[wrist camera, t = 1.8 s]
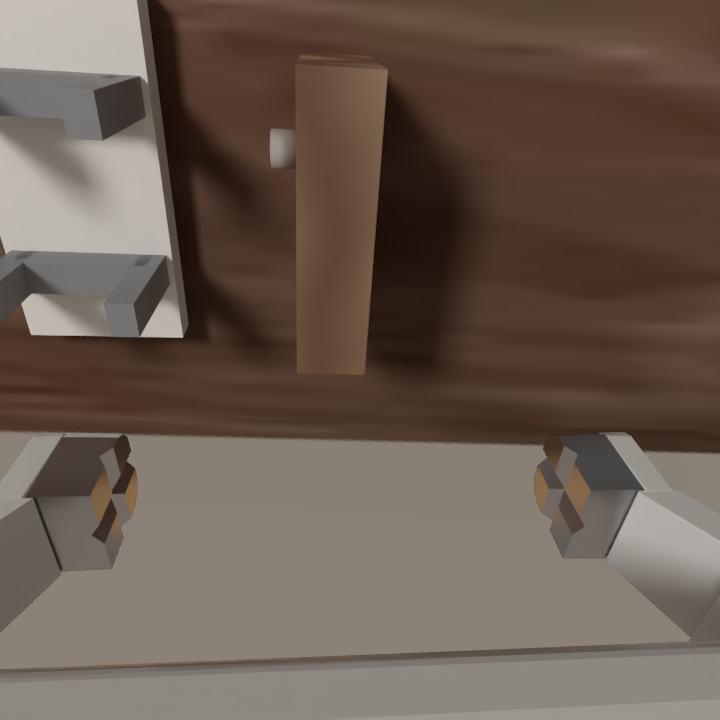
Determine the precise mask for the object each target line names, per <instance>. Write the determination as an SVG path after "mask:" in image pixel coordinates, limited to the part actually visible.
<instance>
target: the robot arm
mask: <svg viewBox="0 0 720 720" xmlns="http://www.w3.org/2000/svg"><path fill="white" fill-rule="evenodd" d="M543 450H544V452H545V454H546V456H547V458H546V459H545V460H544V461H543V462H541V463H540V464H539V465H538V466H537V470H536V474H535V477H534V488H535V489H534V491H535V495H536V500H537V503H538V505H539V507H540V510H541V512H542V513H543V514H545V515H546V516H548V517H549V518H550V519H551V520H553V523H552V525H551V528H550V531H551V533H552V536H553V538H554V540H555V542H556V544H557V546H558V548H559V550H560V553H561V555H562V557H563V558H607V559H606V561H607V562H608V563H609V564H610V565H611V566H612V567H613V568H614V569H615V570H617V571H618V572H619V573H620V574H621V575H622V576H623V577H625V579H627V580H628V581H629V582H630V583H631V584H632V585H633V586H634V587H635V588H637V589H638V590H639V591H640V592H641V593H642V594H643V595H644V596H645V597H647V598H648V599H649V600H650V601H651V602H652V603H653V604H654V605H655V606H656V607H658V608H659V609H660V610H661V611H662V612H663V613H664V614H665V615H666V616H668V617H669V618H670V619H671V620H672V621H673V622H674V623H675V624H676V625H678V626H679V627H680V628H681V629H682V630H683V631H684V632H685V633H686V634H687V635H689V636H690V637H691V639H690V641H689V642H670V643H647V644H646V643H645V644H619V645H594V646H570V647H547V648H524V649H501V650H478V651H477V650H475V651H454V652H453V651H451V652H427V653H401V654H376V655H352V656H351V655H350V656H324V657H298V658H275V659H274V658H273V659H247V660H223V661H199V662H174V663H149V664H124V665H98V666H76V667H75V666H73V667H49V668H24V669H0V720H720V513H718V512H716V511H715V510H713V509H711V508H710V507H708V506H706V505H704V504H703V503H701V502H699V501H698V500H696V499H694V498H692V497H691V496H689V495H687V494H686V493H684V492H682V491H673V490H672V489H671V488H670V486H669V485H668V484H667V483H666V481H665V480H664V478H663V477H662V476H661V475H660V473H659V472H658V471H657V469H656V468H655V467H654V466H653V464H652V463H651V462H650V460H649V459H648V458H647V457H646V455H645V454H644V453H643V451H642V450H641V449H640V447H639V446H638V445H637V444H636V442H635V441H634V440H633V438H632V437H631V436H630V435H628V434H626V433H625V432H610V433H599V434H598V433H570V434H550V435H549V437H548V438H547V439H546V442H545V445H544V448H543ZM130 452H131V449H130V445H129V441H128V438H127V436H125V435H123V434H95V433H67V434H65V433H38V434H37V435H35V436H33V437H32V438H31V439H30V440H29V442H28V443H27V445H26V446H25V448H24V449H23V451H22V452H21V454H20V455H19V456H18V458H17V459H16V461H15V462H14V464H13V465H12V467H11V468H10V469H9V471H8V472H7V474H6V475H5V477H4V478H3V480H2V481H1V483H0V632H1V631H2V630H4V629H5V628H6V626H8V625H9V624H10V623H11V622H12V621H13V620H14V619H15V618H16V617H17V616H18V615H19V614H20V613H21V612H22V611H23V610H25V608H27V607H28V606H29V605H30V604H31V603H32V602H33V601H34V600H35V599H36V598H37V597H38V596H39V595H40V594H41V593H42V592H43V591H45V590H46V589H47V588H48V587H49V586H50V585H51V584H52V583H53V582H54V581H55V580H56V579H57V578H58V577H59V576H60V575H61V572H65V571H83V570H104V569H112V567H113V565H114V562H115V559H116V557H117V554H118V551H119V549H120V546H121V544H122V541H123V534H122V530H121V526H122V525H123V524H124V523H126V522H127V521H128V520H129V519H131V517H132V514H133V511H134V508H135V504H136V498H137V491H138V489H137V476H136V471H135V468H134V467H133V466H131V465H130V464H129V463H128V462H127V459H128V457H129V454H130Z"/></svg>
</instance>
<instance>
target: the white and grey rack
mask: <svg viewBox="0 0 720 720" xmlns="http://www.w3.org/2000/svg"><path fill="white" fill-rule="evenodd" d="M0 236H1V240H2V243H3V246H4V249H5V252H6V254H5V255H4V256H3V257H1V258H0V323H1V322H2V321H3V320H4V319H5V318H6V317H7V316H8V315H10V314H11V313H12V312H13V311H14V310H15V309H16V308H17V307H18V306H19V305H20V304H22V307H23V310H24V313H25V317H26V320H27V323H28V326H29V329H30V333H31V335H65V336H111V337H170V338H183V337H184V334H185V332H186V330H187V328H188V325H189V323H188V315H187V307H186V300H185V292H184V284H183V276H182V269H181V261H180V253H179V245H178V237H177V230H176V222H175V214H174V206H173V198H172V191H171V183H170V175H169V167H168V160H167V152H166V144H165V136H164V128H163V121H162V113H161V105H160V97H159V90H158V82H157V74H156V66H155V58H154V51H153V43H152V35H151V27H150V19H149V12H148V4H147V0H0Z"/></svg>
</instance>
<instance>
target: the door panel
mask: <svg viewBox="0 0 720 720" xmlns="http://www.w3.org/2000/svg"><path fill="white" fill-rule="evenodd" d="M387 76H388V70H387V69H386V68H385V67H383V66H382V65H381V64H379V63H378V62H376V61H375V60H374V59H372V58H371V57H370V56H358V55H342V54H327V53H311V52H302V54H301V55H300V57H299V59H298V61H297V62H296V64H295V78H296V130H289V129H271V132H270V160H271V168H282V169H296V276H297V374H349V375H365V362H366V349H367V336H368V323H369V310H370V297H371V284H372V271H373V258H374V245H375V232H376V219H377V206H378V193H379V180H380V167H381V154H382V141H383V128H384V115H385V102H386V89H387Z"/></svg>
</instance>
